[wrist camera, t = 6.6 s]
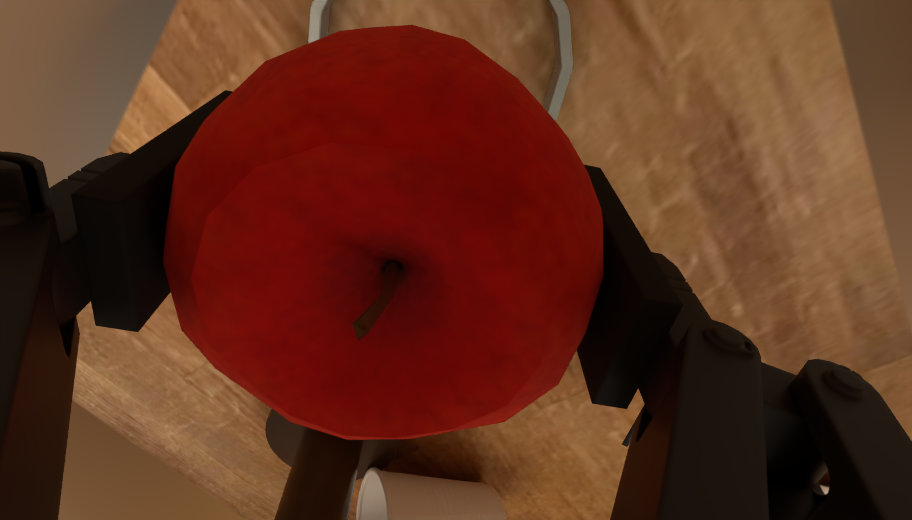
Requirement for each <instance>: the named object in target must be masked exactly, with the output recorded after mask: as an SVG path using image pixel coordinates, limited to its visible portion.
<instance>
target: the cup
mask: <svg viewBox="0 0 912 520" xmlns="http://www.w3.org/2000/svg"><path fill="white" fill-rule="evenodd" d="M356 520H506V514H505V510H504V506H503V503H502V500H501V498H500V496H499V495H498V493H497V492H496V491H495V490H494V489H493V488H492V487H491V486H490V485H488V484H486V483H477V482H469V481H458V480H451V479H443V478H433V477H427V476H417V475H412V474H404V473H396V472H387V471H380V470H379V469H378V468H376V467H372V468H370V469H369V470H367V472H366V474H365V475H364V478H363V480H362V483H361V487H360V491H359V496H358V503H357V512H356Z"/></svg>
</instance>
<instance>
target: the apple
mask: <svg viewBox="0 0 912 520" xmlns="http://www.w3.org/2000/svg"><path fill="white" fill-rule="evenodd" d="M163 265H164V269H165V272H166V276H167V279H168V283H169V287H170V290H171V294H172V297H173V301H174V304H175V308H176V312H177V315H178V319H179V322H180V326H181V329H182V331H183V332H184V333H185V334H186V336H187V337H188V338H189V339H190V340H191V341H192V342H193V344H194V345H195V346H196V347H197V348H198V349H199V350H200V351H201V353H202V354H203V355H204V356H205V357H206V358H207V359H208V360H209V362H210V363H211V364H212V365H213V366H214V367H215V368H216V369H217V370H219V371H220V372H221V373H223V374H224V375H226V376H227V377H228V378H230V379H231V380H233V381H234V382H235V383H237V384H238V385H240V386H241V387H242V388H244V389H245V390H247V391H248V392H249V393H251V394H252V395H254V396H255V397H256V398H258V399H259V400H261V401H262V402H263V403H265V404H266V405H268V406H269V407H270V408H272V409H273V410H275V411H276V412H278V413H279V414H280V415H282V416H283V417H285V418H286V419H287V420H289V421H290V422H292V423H295V424H299V425H302V426H305V427H308V428H311V429H315V430H318V431H321V432H324V433H327V434H331V435H334V436H337V437H340V438H343V439H347V440H368V439H413V438H418V437H424V436H429V435H435V434H440V433H446V432H451V431H457V430H462V429H468V428H473V427H479V426H484V425H490V424H496V423H501V422H505V421H506V420H508V419H509V418H511V417H512V416H513V415H515V414H516V413H518V412H519V411H521V410H522V409H524V408H525V407H526V406H528V405H529V404H531V403H532V402H534V401H535V400H536V399H538V398H539V397H541V396H542V395H544V394H545V393H546V392H548V391H549V390H551V389H552V388H554V387H555V386H557V385H558V384H559V382H560V380H561V378H562V376H563V374H564V372H565V371H566V369H567V367H568V365H569V363H570V361H571V359H572V357H573V355H574V354H575V352H576V350H577V348H578V346H579V344H580V342H581V340H582V338H583V336H584V335H585V333H586V330H587V326H588V323H589V320H590V317H591V314H592V311H593V307H594V304H595V301H596V298H597V295H598V292H599V288H600V285H601V282H602V279H603V218H602V210H601V207H600V204H599V201H598V199H597V196H596V193H595V191H594V188H593V185H592V182H591V180H590V177H589V174H588V172H587V170H586V168H585V166H584V165H583V163H582V161H581V159H580V158H579V156H578V154H577V152H576V151H575V149H574V147H573V145H572V143H571V142H570V140H569V138H568V137H567V136H566V134H565V133H564V132H563V130H562V129H561V128H560V127H559V125H558V124H557V123H556V122H555V120H554V119H553V118H552V117H551V115H550V114H549V113H548V112H547V111H546V110H545V109H544V108H543V106H542V105H541V104H540V103H539V102H538V101H537V100H536V99H535V97H534V96H533V95H532V94H531V93H530V92H529V91H528V90H527V89H526V87H525V86H524V85H523V84H522V83H521V82H520V81H519V80H518V79H517V78H516V77H515V76H513V75H512V74H511V73H509V72H508V71H507V70H505V69H504V68H502V67H501V66H500V65H498V64H497V63H496V62H494V61H493V60H492V59H490V58H489V57H488V56H486V55H485V54H484V53H482V52H481V51H479V50H478V49H477V48H475V47H474V46H473V45H471V44H470V43H469V42H467V41H466V40H464V39H461V38H457V37H454V36H450V35H447V34H443V33H439V32H436V31H432V30H429V29H425V28H422V27H418V26H414V25H403V26H387V27H372V28H362V29H354V30H345V31H339V32H336V33H334V34H331V35H329V36H326V37H324V38H321V39H319V40H316V41H313V42H311V43H309V44H306V45H304V46H301V47H299V48H297V49H294V50H292V51H289V52H287V53H284V54H282V55H280V56H277V57H275V58H272V59H270V60H267V61H265V62H264V63H263V64H262V65H261V66H260V67H259V68H258V69H257V70H256V71H255V72H254V73H253V74H252V75H250V76H249V77H248V78H247V79H246V80H245V81H244V82H243V83H242V84H241V85H240V86H239V87H238V88H237V89H236V90H235V91H234V92H233V93H231V94H230V95H229V96H228V97H227V98H226V99H225V100H224V101H223V102H222V103H221V104H220V105H219V106H218V107H217V108H216V109H215V110H214V111H213V112H212V113H211V114H210V115H209V116H208V117H207V118H206V119H205V120H204V122H203V123H202V125H201V126H200V128H199V130H198V131H197V133H196V134H195V136H194V138H193V139H192V141H191V142H190V144H189V145H188V147H187V149H186V150H185V152H184V153H183V155H182V157H181V158H180V160H179V161H178V163H177V165H176V167H175V173H174V179H173V186H172V192H171V198H170V205H169V211H168V217H167V224H166V230H165V242H164V256H163Z"/></svg>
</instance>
